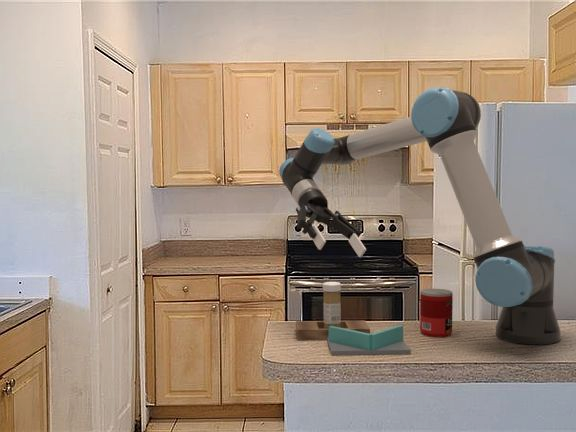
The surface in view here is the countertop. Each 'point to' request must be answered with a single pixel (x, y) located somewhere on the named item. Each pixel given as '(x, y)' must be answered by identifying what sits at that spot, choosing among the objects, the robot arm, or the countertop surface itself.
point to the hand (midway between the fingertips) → (343, 249)
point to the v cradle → (367, 342)
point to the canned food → (436, 312)
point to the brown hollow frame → (317, 331)
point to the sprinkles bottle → (332, 304)
